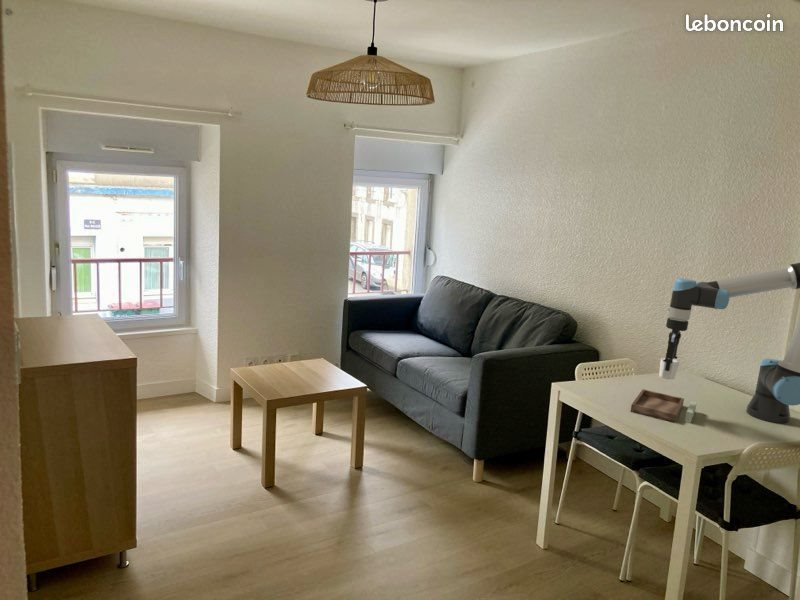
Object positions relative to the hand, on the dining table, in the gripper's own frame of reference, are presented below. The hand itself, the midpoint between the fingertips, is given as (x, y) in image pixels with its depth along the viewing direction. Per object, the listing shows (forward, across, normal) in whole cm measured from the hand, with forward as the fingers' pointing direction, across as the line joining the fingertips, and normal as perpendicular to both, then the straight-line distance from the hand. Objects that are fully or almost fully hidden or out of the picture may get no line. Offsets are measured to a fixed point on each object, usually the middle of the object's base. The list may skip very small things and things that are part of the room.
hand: (667, 376), depth 250 cm
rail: (+14, 0, +11) cm, 17 cm away
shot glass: (+1, 0, 0) cm, 1 cm away
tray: (+14, 0, -1) cm, 14 cm away
